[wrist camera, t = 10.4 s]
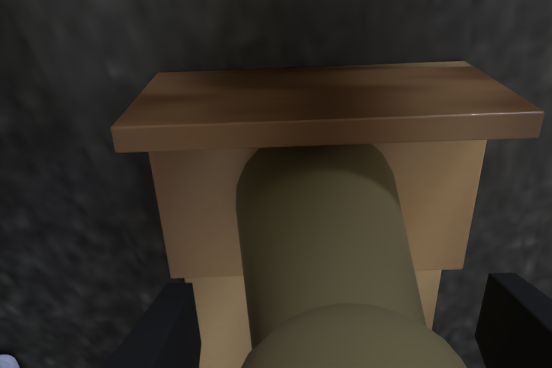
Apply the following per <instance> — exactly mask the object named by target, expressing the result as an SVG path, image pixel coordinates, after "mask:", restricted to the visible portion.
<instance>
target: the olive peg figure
mask: <svg viewBox="0 0 552 368" xmlns="http://www.w3.org/2000/svg"><path fill="white" fill-rule="evenodd" d="M236 215H237V224H238V233H239V241H240V250H241V259H242V268H243V276H244V285H245V294H246V303H247V312H248V320H249V329H250V338H251V347H252V351H251V352H249V353H248V355H247V357H246V359H245V361H244V363H243V365H242V367H241V368H467V367H466V366H465V364H464V362H463V361H462V359H461V358H460V357H459V356H458V355H457V354H456V352H455V351H454V350H453V349H452V348H451V346H450V345H449V344H448V343H447V342H446V341H445V340H444V339H443V338H442V337H440V336H439V335H437V334H436V333H435V332H433V331H432V330H430V329H429V328H427V327H426V322H425V317H424V313H423V308H422V303H421V299H420V294H419V289H418V285H417V280H416V275H415V271H414V266H413V261H412V257H411V252H410V247H409V243H408V238H407V233H406V229H405V224H404V219H403V215H402V210H401V206H400V201H399V196H398V192H397V187H396V182H395V178H394V173H393V171H392V169H391V168H390V166H389V164H388V162H387V161H386V159H385V157H384V155H383V154H382V152H381V151H379V150H378V149H377V148H376V147H375V146H373V145H372V144H351V145H323V146H295V147H267V148H259V149H258V150H257V152H256V153H255V154H254V155H253V156H252V157H251V158H250V159H249V161H248V162H247V163H246V164H245V166H244V168H243V171H242V173H241V176H240V178H239V181H238V183H237V185H236Z"/></svg>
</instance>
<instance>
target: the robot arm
mask: <svg viewBox="0 0 552 368" xmlns="http://www.w3.org/2000/svg"><path fill="white" fill-rule="evenodd" d="M475 337H476V340H477V343H478V346H479V349H480V352H481V355H482V358H483V361H484V363H485V366H486V368H552V300H551V299H550V298H549V297H547V296H546V295H545V294H543V293H542V292H541V291H539V290H538V289H537V288H535V287H534V286H533V285H531V284H530V283H528V282H527V281H526V280H524V279H523V278H521V277H520V276H518V275H517V274H515V273H491V274H489V276H488V280H487V284H486V289H485V293H484V298H483V302H482V306H481V311H480V315H479V320H478V324H477V328H476V333H475ZM201 344H202V343H201V336H200V330H199V323H198V317H197V310H196V303H195V297H194V290H193V284H192V283H167V284H166V285H165V286H164V287H163V289H162V290H161V291H160V293H159V294H158V296H157V297H156V298H155V300H154V301H153V303H152V304H151V305H150V307H149V308H148V309H147V311H146V312H145V313H144V315H143V316H142V317H141V319H140V320H139V321H138V323H137V324H136V325H135V327H134V328H133V329H132V330H131V332H130V333H129V334H128V335H127V337H126V338H125V339H124V340H123V342H122V343H121V344H120V345H119V347H118V348H117V349H116V350H115V351H114V353H113V354H112V355H111V356H110V357H109V358H108V360H107V361H106V362H105V363H104V364H103V365H102V366H101V367H100V368H199V363H200V354H201ZM0 368H19V365H18V363H17V361H16V359H15V358H14V357H12V356H10V355H0Z"/></svg>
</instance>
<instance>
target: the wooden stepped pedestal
mask: <svg viewBox="0 0 552 368" xmlns="http://www.w3.org/2000/svg"><path fill="white" fill-rule="evenodd" d="M543 118H544V111H542V110H541V109H539V108H538V107H536V106H535V105H533V104H531V103H530V102H528V101H527V100H525V99H524V98H522V97H520V96H519V95H517V94H516V93H514V92H513V91H511V90H509V89H508V88H506V87H505V86H503V85H502V84H500V83H499V82H497V81H495V80H494V79H492V78H491V77H489V76H488V75H486V74H484V73H483V72H481V71H480V70H478V69H477V68H475V67H474V66H472V65H470V64H469V63H467V62H466V61H452V62H425V63H399V64H373V65H346V66H320V67H294V68H267V69H241V70H215V71H188V72H162V73H157V74H156V75H155V76H154V78H153V79H152V80H151V81H150V82H149V83H148V85H147V86H146V87H145V88H144V89H143V90H142V91H141V93H140V94H139V95H138V96H137V97H136V98H135V100H134V101H133V102H132V103H131V104H130V105H129V106H128V108H127V109H126V110H125V111H124V112H123V113H122V115H121V116H120V117H119V118H118V119H117V120H116V122H115V123H114V124H113V125H112V126H111V128H110V131H111V135H112V140H113V145H114V149H115V152H116V153H127V152H148V154H149V160H150V165H151V171H152V176H153V182H154V187H155V193H156V198H157V204H158V210H159V215H160V221H161V226H162V232H163V237H164V243H165V248H166V254H167V259H168V265H169V270H170V276H171V278H184V279H185V283H192V284H193V290H194V297H195V303H196V310H197V317H198V323H199V330H200V336H201V343H202V344H201V354H200V363H199V368H241V367H242V365H243V363H244V361H245V359H246V357H247V355H248V353H249V352H251V351H252V347H251V338H250V329H249V320H248V312H247V303H246V294H245V285H244V276H243V268H242V259H241V250H240V241H239V233H238V224H237V215H236V185H237V183H238V181H239V178H240V176H241V173H242V171H243V168H244V166H245V164H246V163H247V162H248V161H249V159H250V158H251V157H252V156H253V155H254V154H255V153H256V152H257V150H258V149H259V148H267V147H295V146H323V145H351V144H372V145H373V146H375V147H376V148H377V149H378V150H379V151H381V152H382V154H383V155H384V157H385V159H386V161H387V162H388V164H389V166H390V168H391V169H392V171H393V173H394V178H395V182H396V187H397V192H398V196H399V201H400V206H401V210H402V215H403V219H404V224H405V229H406V233H407V238H408V243H409V247H410V252H411V257H412V261H413V266H414V271H415V275H416V280H417V285H418V289H419V294H420V299H421V303H422V308H423V313H424V317H425V322H426V327H427V328H429V329H430V330H432V324H433V318H434V312H435V306H436V300H437V294H438V288H439V282H440V276H441V270H448V269H462V268H463V263H464V258H465V252H466V247H467V242H468V237H469V231H470V226H471V221H472V216H473V210H474V205H475V200H476V194H477V189H478V184H479V179H480V173H481V168H482V163H483V158H484V152H485V147H486V142H487V140H490V139H518V138H538V137H539V134H540V130H541V126H542V122H543Z"/></svg>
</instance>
